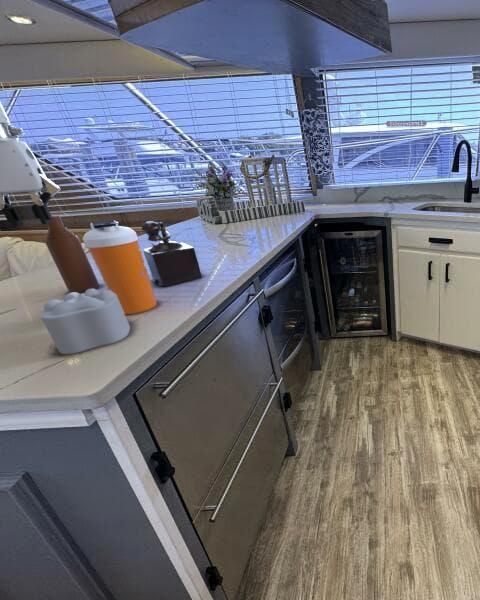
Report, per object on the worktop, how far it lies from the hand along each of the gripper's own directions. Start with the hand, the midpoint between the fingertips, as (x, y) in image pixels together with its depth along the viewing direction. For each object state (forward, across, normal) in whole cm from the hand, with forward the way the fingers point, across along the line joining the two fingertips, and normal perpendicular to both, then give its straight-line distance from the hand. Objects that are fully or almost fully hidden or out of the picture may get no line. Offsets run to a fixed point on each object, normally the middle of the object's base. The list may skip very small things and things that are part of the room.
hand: (32, 223), depth 72 cm
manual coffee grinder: (+20, -23, -4) cm, 31 cm away
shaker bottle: (+20, -16, +14) cm, 29 cm away
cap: (-1, 0, 0) cm, 1 cm away
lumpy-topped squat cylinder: (+20, -11, +26) cm, 35 cm away
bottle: (+20, 0, -12) cm, 23 cm away
